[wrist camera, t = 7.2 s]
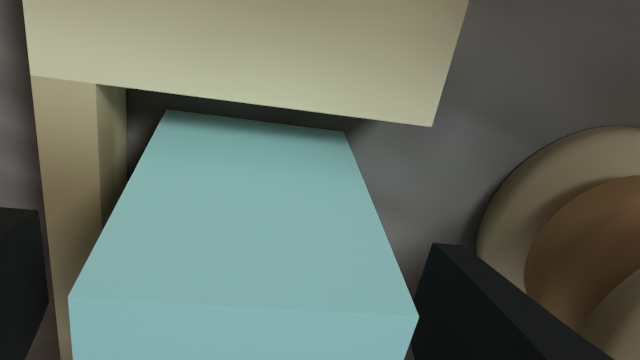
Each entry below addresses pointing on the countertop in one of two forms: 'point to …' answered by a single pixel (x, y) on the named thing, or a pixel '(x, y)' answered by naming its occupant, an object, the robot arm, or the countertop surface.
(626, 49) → the countertop surface
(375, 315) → the pale teal block
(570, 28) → the countertop surface
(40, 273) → the robot arm
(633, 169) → the spool
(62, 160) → the notch board
